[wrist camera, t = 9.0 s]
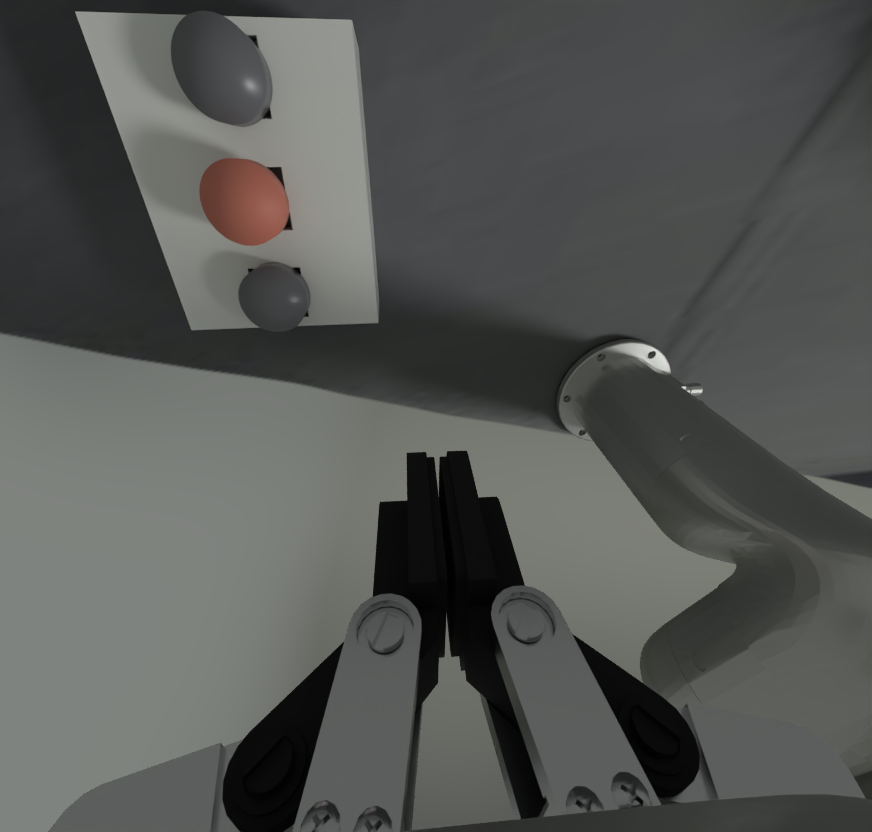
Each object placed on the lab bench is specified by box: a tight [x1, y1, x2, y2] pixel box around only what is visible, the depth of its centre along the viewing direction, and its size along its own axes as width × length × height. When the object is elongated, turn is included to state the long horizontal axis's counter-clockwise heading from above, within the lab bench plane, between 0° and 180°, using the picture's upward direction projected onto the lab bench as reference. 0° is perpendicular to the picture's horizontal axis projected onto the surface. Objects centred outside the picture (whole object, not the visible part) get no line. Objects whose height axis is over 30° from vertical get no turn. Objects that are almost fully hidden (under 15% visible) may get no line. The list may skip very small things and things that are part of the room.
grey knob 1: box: [171, 11, 273, 127], centre depth 22 cm, size 4×4×6 cm
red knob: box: [199, 158, 289, 246], centre depth 24 cm, size 4×4×6 cm
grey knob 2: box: [238, 262, 310, 332], centre depth 29 cm, size 4×4×6 cm
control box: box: [75, 11, 379, 330], centre depth 27 cm, size 14×17×6 cm
